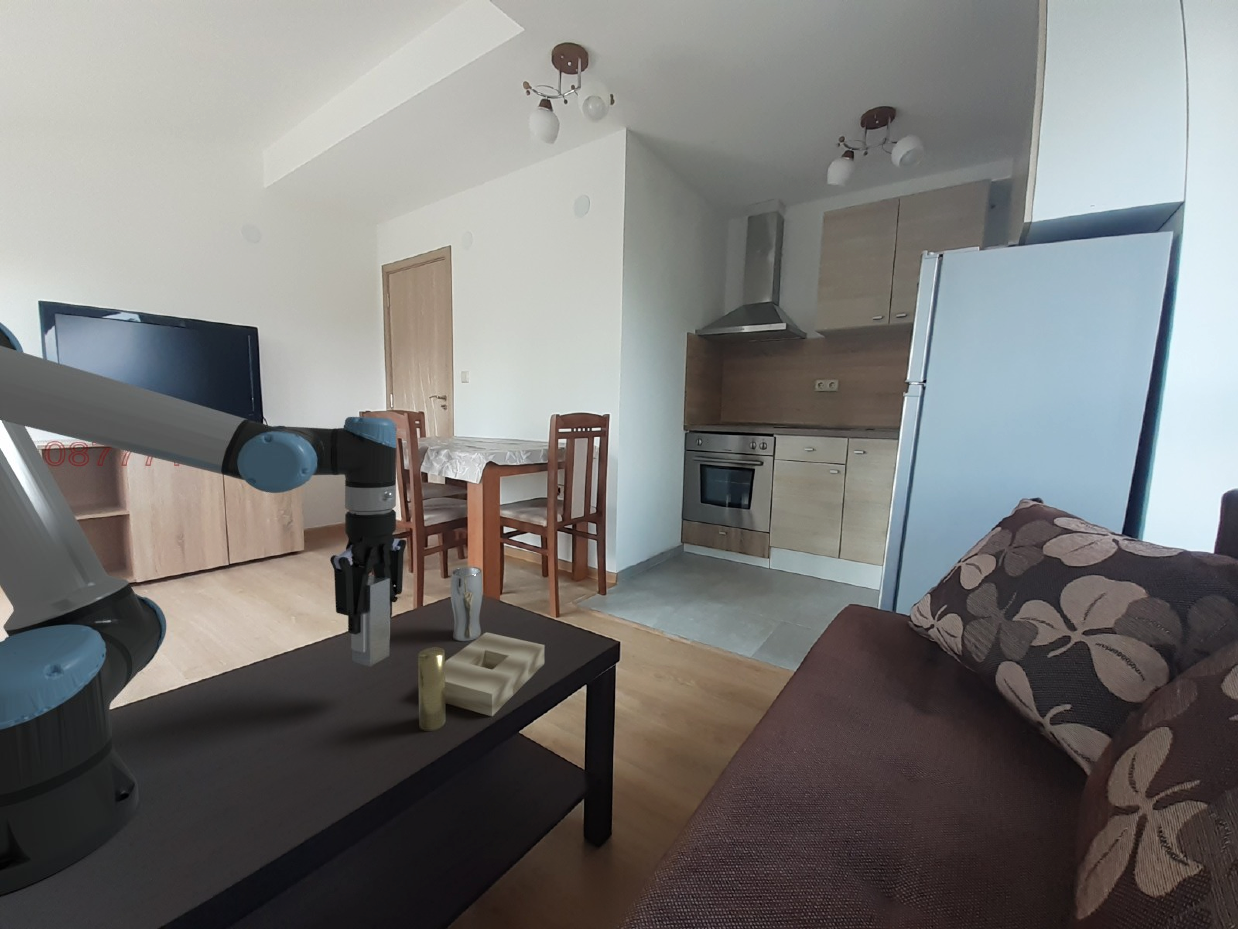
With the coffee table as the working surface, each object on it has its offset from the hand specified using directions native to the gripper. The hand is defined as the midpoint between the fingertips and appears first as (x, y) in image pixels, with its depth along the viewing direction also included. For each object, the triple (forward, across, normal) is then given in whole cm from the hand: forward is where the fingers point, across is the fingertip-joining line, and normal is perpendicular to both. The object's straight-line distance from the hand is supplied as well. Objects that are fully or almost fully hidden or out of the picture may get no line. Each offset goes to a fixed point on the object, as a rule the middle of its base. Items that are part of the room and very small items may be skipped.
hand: (371, 643), depth 81 cm
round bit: (+10, 0, -14) cm, 17 cm away
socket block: (+10, +14, -15) cm, 22 cm away
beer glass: (+10, +27, 0) cm, 29 cm away
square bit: (+3, 0, 0) cm, 3 cm away
